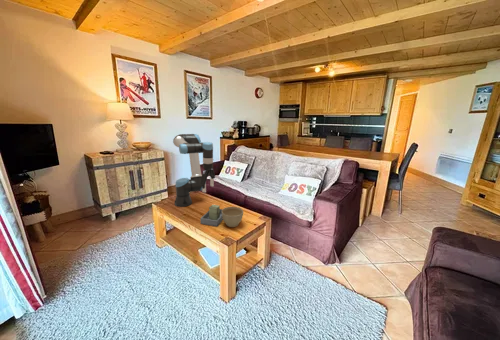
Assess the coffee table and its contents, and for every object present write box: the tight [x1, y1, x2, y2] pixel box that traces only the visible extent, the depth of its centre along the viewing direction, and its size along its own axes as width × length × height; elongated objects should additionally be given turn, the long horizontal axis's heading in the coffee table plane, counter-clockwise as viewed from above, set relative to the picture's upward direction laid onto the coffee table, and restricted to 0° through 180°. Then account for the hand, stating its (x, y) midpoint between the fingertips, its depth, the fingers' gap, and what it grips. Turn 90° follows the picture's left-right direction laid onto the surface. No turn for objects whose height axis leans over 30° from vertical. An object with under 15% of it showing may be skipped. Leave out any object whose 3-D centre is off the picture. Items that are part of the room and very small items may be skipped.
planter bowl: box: [222, 206, 244, 228], centre depth 152 cm, size 16×16×11 cm
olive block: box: [208, 204, 221, 221], centre depth 158 cm, size 6×6×10 cm
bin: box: [200, 208, 224, 228], centre depth 159 cm, size 20×14×4 cm
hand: (208, 189), depth 159 cm, fingers open, 13 cm apart
